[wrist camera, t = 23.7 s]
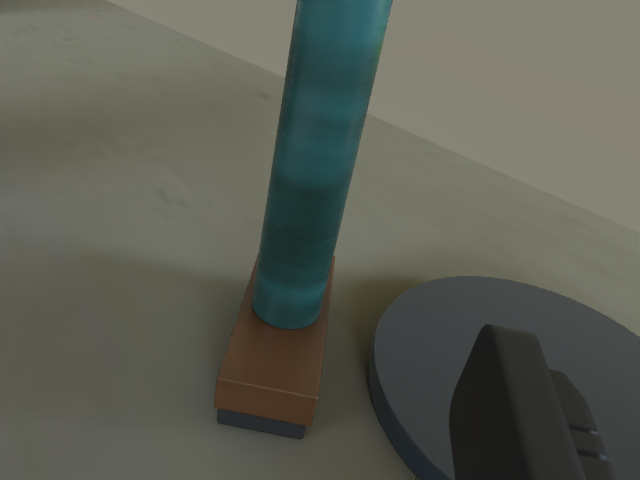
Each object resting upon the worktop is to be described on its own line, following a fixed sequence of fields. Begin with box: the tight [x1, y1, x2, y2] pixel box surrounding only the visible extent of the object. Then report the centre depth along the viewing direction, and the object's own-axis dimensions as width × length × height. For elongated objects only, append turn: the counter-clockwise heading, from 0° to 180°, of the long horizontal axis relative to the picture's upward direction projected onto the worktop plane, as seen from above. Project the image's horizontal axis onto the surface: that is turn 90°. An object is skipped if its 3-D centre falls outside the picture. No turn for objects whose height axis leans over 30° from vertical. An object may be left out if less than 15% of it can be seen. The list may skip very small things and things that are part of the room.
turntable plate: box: [367, 276, 640, 480], centre depth 25 cm, size 15×15×1 cm
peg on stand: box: [214, 0, 393, 439], centre depth 21 cm, size 9×4×15 cm, turn 175°
